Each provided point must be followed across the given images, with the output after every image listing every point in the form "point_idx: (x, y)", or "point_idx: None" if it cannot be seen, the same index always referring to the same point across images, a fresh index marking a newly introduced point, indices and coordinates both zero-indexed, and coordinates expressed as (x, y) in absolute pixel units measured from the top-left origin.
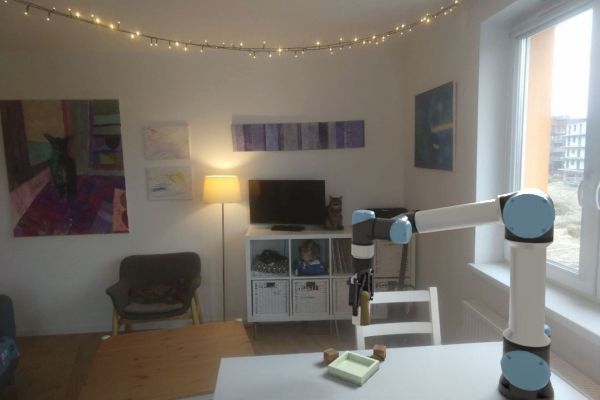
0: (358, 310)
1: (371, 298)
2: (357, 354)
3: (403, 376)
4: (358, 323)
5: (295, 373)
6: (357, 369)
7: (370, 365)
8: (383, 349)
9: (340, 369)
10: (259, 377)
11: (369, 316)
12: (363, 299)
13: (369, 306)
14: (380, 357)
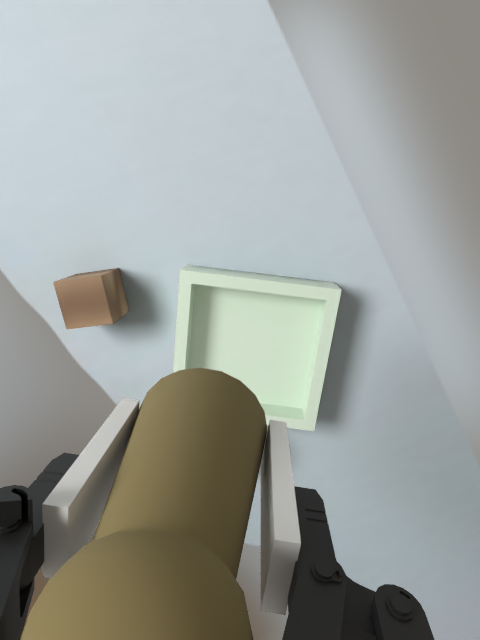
0: (295, 520)
1: (1, 515)
2: (177, 367)
3: (189, 156)
4: (285, 436)
5: (356, 499)
6: (250, 332)
7: (197, 299)
8: (89, 282)
9: (321, 381)
10: (423, 573)
11: (181, 401)
12: (234, 602)
13: (84, 464)
14: (117, 285)
